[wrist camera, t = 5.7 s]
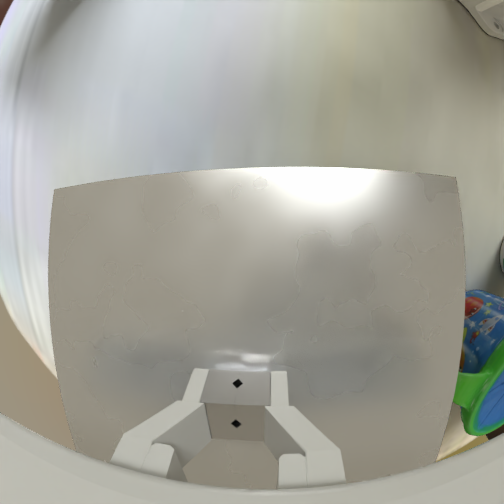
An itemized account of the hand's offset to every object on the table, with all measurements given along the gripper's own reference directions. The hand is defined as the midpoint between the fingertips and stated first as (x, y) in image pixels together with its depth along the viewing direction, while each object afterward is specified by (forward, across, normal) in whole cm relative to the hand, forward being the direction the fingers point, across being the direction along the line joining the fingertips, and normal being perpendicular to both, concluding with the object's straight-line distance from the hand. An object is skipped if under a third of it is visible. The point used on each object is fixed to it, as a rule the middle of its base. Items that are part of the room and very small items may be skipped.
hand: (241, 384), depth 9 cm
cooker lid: (+1, 0, +3) cm, 3 cm away
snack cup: (+12, -19, +6) cm, 24 cm away
